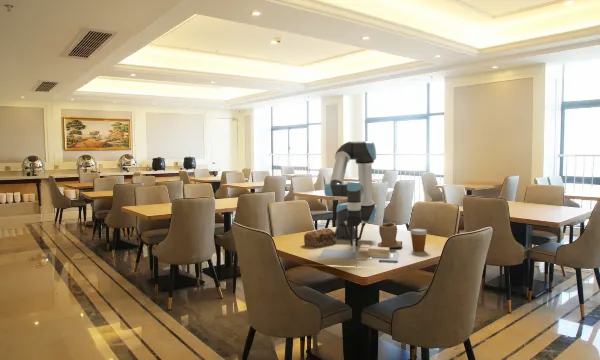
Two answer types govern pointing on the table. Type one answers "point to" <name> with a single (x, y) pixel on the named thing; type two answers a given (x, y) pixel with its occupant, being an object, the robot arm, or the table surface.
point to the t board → (356, 255)
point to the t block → (373, 251)
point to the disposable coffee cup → (418, 239)
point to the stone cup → (389, 236)
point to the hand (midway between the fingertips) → (354, 251)
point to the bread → (320, 238)
